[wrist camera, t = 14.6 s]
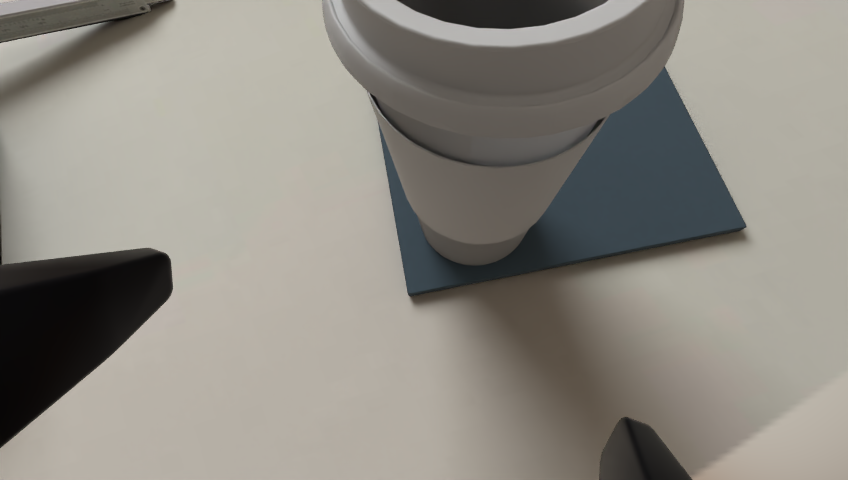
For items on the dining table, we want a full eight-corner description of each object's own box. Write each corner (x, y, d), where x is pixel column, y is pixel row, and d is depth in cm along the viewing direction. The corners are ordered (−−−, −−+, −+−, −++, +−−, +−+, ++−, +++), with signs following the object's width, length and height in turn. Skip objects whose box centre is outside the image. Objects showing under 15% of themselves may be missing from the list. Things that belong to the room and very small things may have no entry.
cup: (590, 237, 17) (828, -63, 6) (456, 327, 16) (455, 165, 5) (487, 120, 20) (527, -245, 9) (365, 193, 19) (234, -111, 8)
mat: (741, 230, 17) (747, 226, 17) (409, 296, 17) (407, 294, 17) (608, -31, 23) (611, -38, 23) (360, 18, 23) (358, 12, 23)
